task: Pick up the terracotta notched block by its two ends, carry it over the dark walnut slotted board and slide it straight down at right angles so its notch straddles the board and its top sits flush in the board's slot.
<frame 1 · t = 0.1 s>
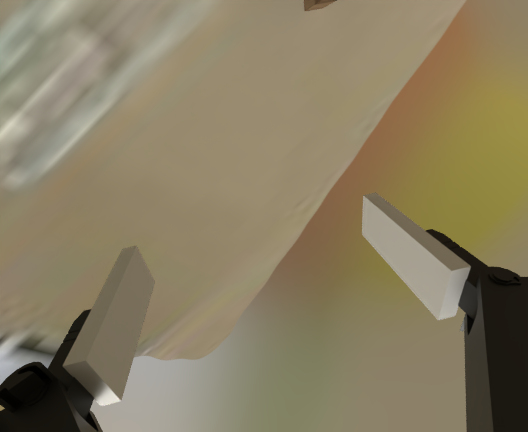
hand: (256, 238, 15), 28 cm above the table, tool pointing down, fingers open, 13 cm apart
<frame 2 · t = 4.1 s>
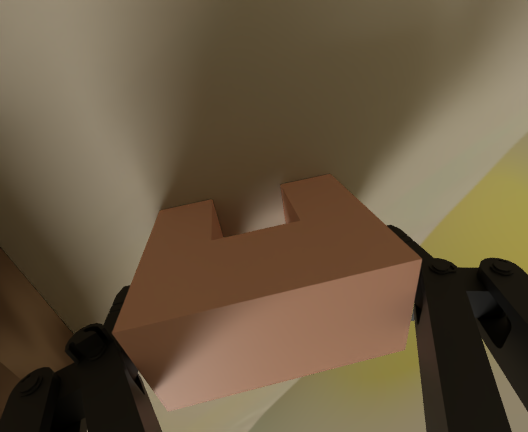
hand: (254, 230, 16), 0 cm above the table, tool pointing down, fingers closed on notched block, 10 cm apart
notched block: (254, 227, 16), on the table, touching gripper
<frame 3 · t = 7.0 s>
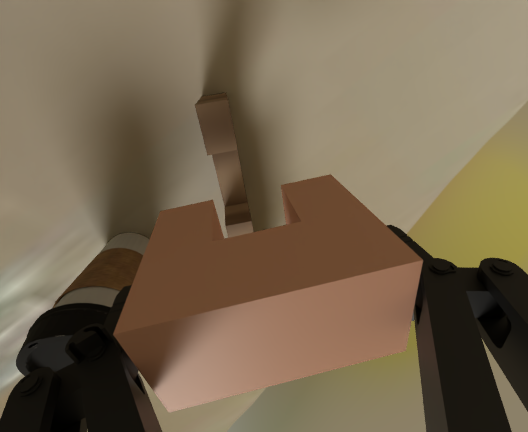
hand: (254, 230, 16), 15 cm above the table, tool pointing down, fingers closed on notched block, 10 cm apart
notched block: (254, 228, 16), point 15 cm above the table, touching gripper
slotted board: (235, 195, 31), on the table
coffee cup: (133, 251, 33), on the table
when the fingers open (2 cm above the table, at t = 10.2 s): notched block drops 1 cm, resting in slotted board.
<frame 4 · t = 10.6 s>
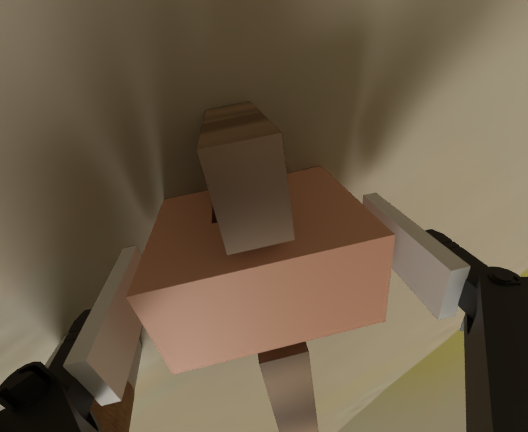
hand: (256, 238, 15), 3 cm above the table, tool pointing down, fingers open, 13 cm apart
notched block: (251, 216, 18), resting in slotted board
slotted board: (261, 261, 20), on the table
coffee cup: (103, 345, 22), on the table
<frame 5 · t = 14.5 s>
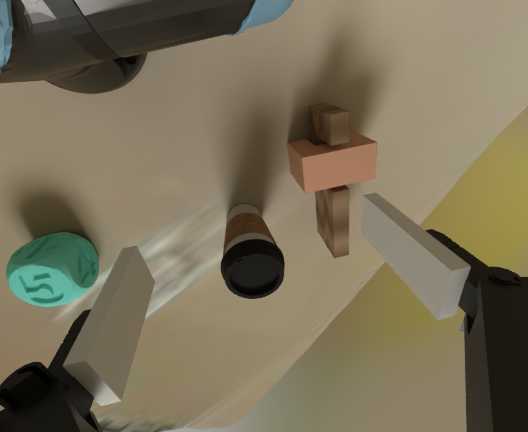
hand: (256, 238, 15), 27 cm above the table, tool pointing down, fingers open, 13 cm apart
notched block: (319, 152, 42), resting in slotted board
slotted board: (321, 175, 44), on the table
decorative dice: (70, 251, 43), on the table
coffee cup: (244, 218, 46), on the table
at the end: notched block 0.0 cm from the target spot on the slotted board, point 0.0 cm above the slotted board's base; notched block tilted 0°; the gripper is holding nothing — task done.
